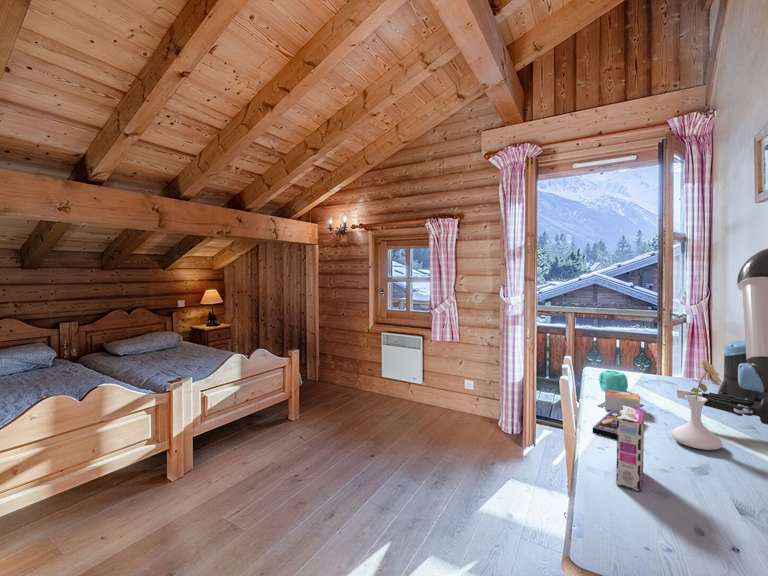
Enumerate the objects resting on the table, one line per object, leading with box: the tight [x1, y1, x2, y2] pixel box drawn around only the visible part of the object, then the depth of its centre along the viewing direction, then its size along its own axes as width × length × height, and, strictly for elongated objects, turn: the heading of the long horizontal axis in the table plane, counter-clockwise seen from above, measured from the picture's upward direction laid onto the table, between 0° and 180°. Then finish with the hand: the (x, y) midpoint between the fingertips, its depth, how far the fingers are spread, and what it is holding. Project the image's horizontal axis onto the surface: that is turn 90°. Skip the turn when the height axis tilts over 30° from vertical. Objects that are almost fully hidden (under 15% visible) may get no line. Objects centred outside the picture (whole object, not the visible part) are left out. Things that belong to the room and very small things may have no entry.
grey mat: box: [597, 401, 644, 408], centre depth 135 cm, size 14×10×1 cm
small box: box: [604, 390, 641, 413], centre depth 131 cm, size 8×6×10 cm
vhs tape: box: [592, 411, 619, 440], centre depth 116 cm, size 10×2×19 cm
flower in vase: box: [670, 358, 724, 451], centre depth 104 cm, size 13×11×25 cm
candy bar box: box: [615, 406, 645, 493], centre depth 87 cm, size 11×5×16 cm, turn 141°
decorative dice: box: [598, 369, 629, 392], centre depth 151 cm, size 8×8×8 cm
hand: (678, 393), depth 120 cm, fingers closed
